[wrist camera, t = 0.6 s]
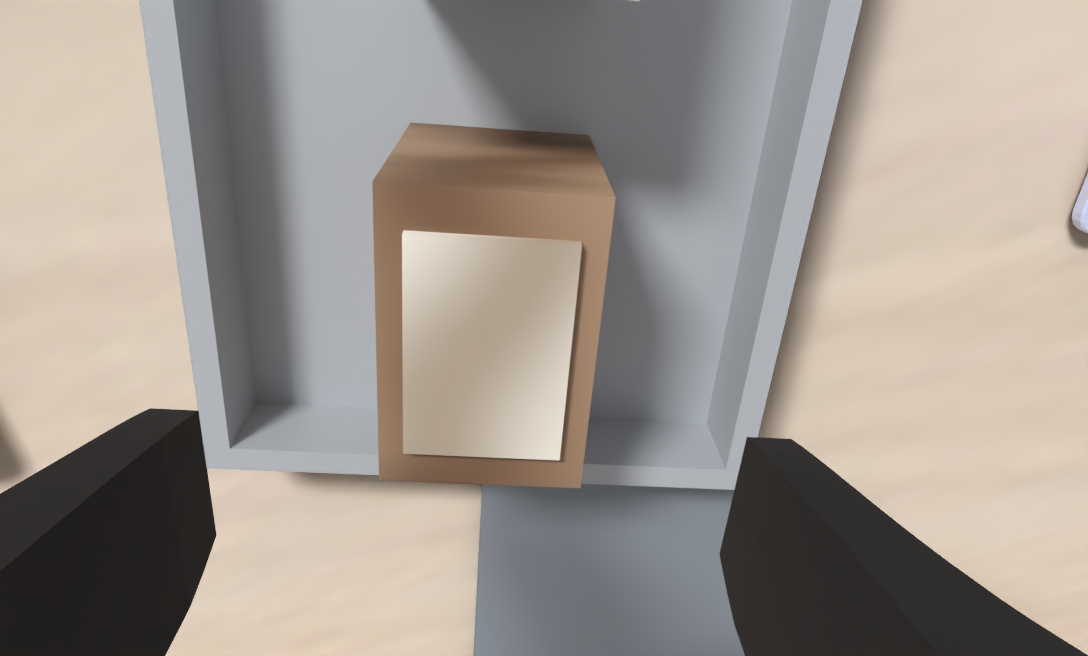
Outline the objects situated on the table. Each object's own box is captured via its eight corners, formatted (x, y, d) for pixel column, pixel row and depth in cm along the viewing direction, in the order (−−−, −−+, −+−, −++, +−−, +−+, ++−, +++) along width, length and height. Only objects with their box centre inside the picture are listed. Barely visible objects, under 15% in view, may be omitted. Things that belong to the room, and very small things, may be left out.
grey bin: (922, -508, 13) (1008, -608, 11) (720, 434, 21) (744, 490, 19) (122, -613, 12) (32, -744, 10) (240, 412, 20) (207, 468, 18)
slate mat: (826, 479, 22) (832, 490, 22) (757, 710, 26) (761, 723, 26) (483, 465, 21) (482, 475, 21) (471, 704, 26) (470, 717, 25)
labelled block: (589, 134, 17) (617, 200, 12) (565, 367, 20) (580, 494, 15) (410, 122, 17) (370, 184, 12) (410, 359, 19) (377, 486, 15)
